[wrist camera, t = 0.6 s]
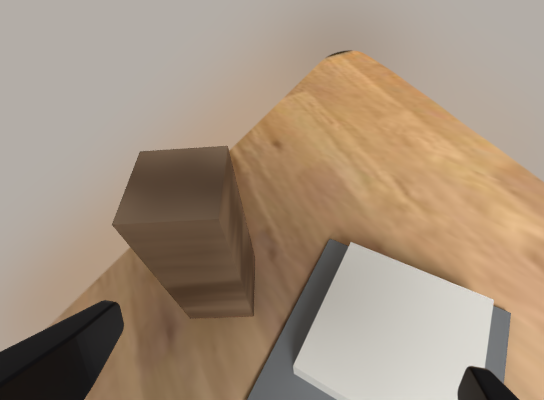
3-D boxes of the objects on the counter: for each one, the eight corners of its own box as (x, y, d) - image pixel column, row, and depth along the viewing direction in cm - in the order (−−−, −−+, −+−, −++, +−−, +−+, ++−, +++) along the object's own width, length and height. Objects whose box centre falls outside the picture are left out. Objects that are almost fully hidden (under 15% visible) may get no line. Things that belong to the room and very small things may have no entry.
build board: (460, 762, 12) (494, 828, 10) (189, 514, 17) (173, 523, 15) (508, 314, 23) (529, 300, 21) (329, 241, 28) (331, 223, 26)
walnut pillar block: (253, 316, 24) (218, 219, 14) (190, 318, 24) (112, 224, 14) (255, 258, 27) (227, 145, 17) (199, 261, 28) (139, 151, 18)
